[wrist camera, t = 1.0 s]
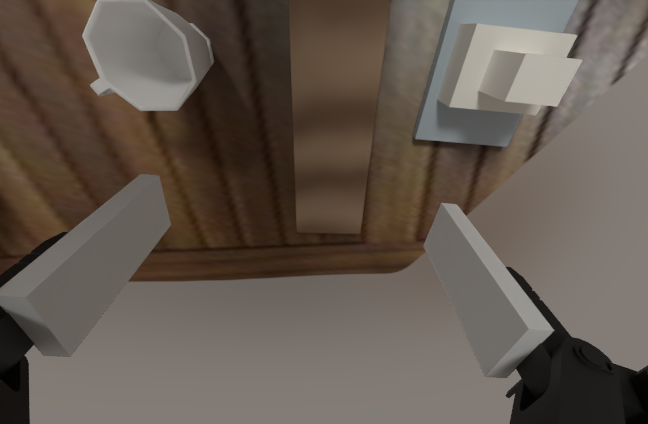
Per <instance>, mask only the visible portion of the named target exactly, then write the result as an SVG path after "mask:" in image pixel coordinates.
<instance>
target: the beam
mask: <svg viewBox="0 0 648 424" xmlns="http://www.w3.org/2000/svg"><path fill="white" fill-rule="evenodd" d="M288 2H289V30H290V58H291V86H292V114H293V142H294V169H295V197H296V225H297V233H340V234H360V231H361V223H362V216H363V208H364V201H365V193H366V185H367V178H368V170H369V163H370V155H371V147H372V140H373V132H374V125H375V117H376V110H377V102H378V94H379V87H380V79H381V72H382V64H383V56H384V49H385V41H386V34H387V26H388V18H389V11H390V3H391V0H288Z"/></svg>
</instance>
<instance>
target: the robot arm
mask: <svg viewBox="0 0 648 424" xmlns="http://www.w3.org/2000/svg"><path fill="white" fill-rule="evenodd" d="M170 226H171V222H170V218H169V214H168V210H167V206H166V202H165V198H164V194H163V189H162V185H161V181H160V177H159V175H148V174H140V175H139V176H138V177H137V178H135V179H134V180H133V181H132V182H130V183H129V184H128V185H127V186H126V187H124V188H123V189H122V190H121V191H119V192H118V193H117V194H116V195H114V196H113V197H112V198H111V199H109V200H108V201H107V202H106V203H105V204H103V205H102V206H101V207H100V208H98V209H97V210H96V211H95V212H93V213H92V214H91V215H90V216H88V217H87V218H86V219H85V220H84V221H82V222H81V223H80V224H79V225H77V226H76V227H75V228H74V229H72V230H71V231H70V232H63V233H60V234H58V235H56V236H54V237H52V238H50V239H48V240H46V241H44V242H43V243H42V244H40V245H39V246H38V247H37V248H35V249H34V250H33V251H31V254H27V255H26V256H25V257H24V258H22V259H21V260H20V261H19V263H18V264H15V265H13V266H12V267H11V268H9V269H8V270H7V271H5V272H4V273H3V274H2V275H0V424H30V419H29V364H28V360H27V358H26V357H25V356H24V355H25V354H26V352H28V350H29V349H30V348H31V347H32V346H33V345H35V347H36V348H37V349H38V350H39V351H40V352H41V353H42V355H44V356H63V357H71V356H72V354H73V353H74V352H75V350H76V349H77V348H78V346H79V345H80V344H81V343H82V341H83V340H84V339H85V337H86V336H87V335H88V333H89V332H90V331H91V329H92V328H93V327H94V325H95V324H96V323H97V321H98V320H99V319H100V318H101V316H102V315H103V314H104V312H105V311H106V310H107V308H108V307H109V306H110V304H111V303H112V302H113V300H114V299H115V298H116V297H117V295H118V294H119V293H120V291H121V290H122V288H123V287H124V286H125V285H126V283H127V282H128V281H129V279H130V278H131V277H132V276H133V274H134V273H135V272H136V270H137V269H138V268H139V266H140V265H141V264H142V262H143V261H144V260H145V258H146V257H147V256H148V255H149V253H150V252H151V251H152V249H153V248H154V247H155V245H156V244H157V243H158V241H159V240H160V239H161V237H162V236H163V235H164V233H165V232H166V231H167V230H168V228H169V227H170ZM423 247H424V249H425V251H426V253H427V255H428V257H429V259H430V261H431V264H432V266H433V268H434V270H435V272H436V274H437V276H438V278H439V280H440V283H441V285H442V287H443V289H444V291H445V293H446V295H447V297H448V300H449V302H450V304H451V306H452V308H453V310H454V312H455V314H456V316H457V319H458V321H459V323H460V325H461V327H462V329H463V331H464V333H465V335H466V338H467V340H468V341H469V344H470V346H471V348H472V350H473V352H474V355H475V357H476V359H477V361H478V363H479V365H480V367H481V369H482V371H483V373H484V376H485V377H497V378H507V377H508V376H509V375H510V374H511V373H512V372H513V371H514V370H515V369H517V371H518V373H519V374H520V376H521V378H522V379H521V380H520V381H519V382H518V383H516V384H515V385H514V386H513V387H512V388H511V389H510V390H509V391H508V392H507V394H506V397H508V398H510V397H511V396H512V395H513V394H515V398H514V404H513V409H512V414H511V419H510V424H648V366H646V367H645V368H643V369H642V370H640V371H639V372H637V371H634V370H631V369H628V368H625V367H622V366H619V365H616V364H613V363H612V362H611V360H610V359H609V358H608V357H607V356H606V355H605V354H603V353H602V352H601V351H600V350H599V349H597V348H596V347H594V346H593V345H591V344H590V343H588V342H586V341H583V340H581V339H578V338H572V337H571V336H570V334H569V333H568V332H567V331H566V330H565V328H564V327H563V326H562V325H561V323H560V322H559V321H558V320H557V318H556V317H555V316H554V315H553V314H552V312H551V311H550V310H549V309H548V307H547V306H546V305H545V304H544V302H543V301H542V300H540V298H539V296H538V295H537V294H536V293H535V291H532V288H531V286H530V285H529V284H528V283H527V282H526V280H525V279H524V278H523V277H522V276H521V275H519V274H518V273H517V272H516V271H514V270H513V269H512V268H511V267H505V266H504V265H503V264H502V263H501V261H500V260H499V258H498V257H497V256H496V255H495V253H494V252H493V251H492V249H491V248H490V247H489V246H488V244H487V243H486V242H485V240H484V239H483V238H482V237H481V235H480V234H479V233H478V231H477V230H476V229H475V228H474V226H473V225H472V224H471V222H470V221H469V220H468V218H467V217H466V216H465V215H464V213H463V212H462V211H461V209H460V208H459V207H458V206H457V204H447V203H441V205H440V208H439V210H438V212H437V215H436V217H435V219H434V222H433V224H432V226H431V229H430V231H429V234H428V236H427V238H426V241H425V243H424V245H423Z"/></svg>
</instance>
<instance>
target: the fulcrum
mask: <svg viewBox="0 0 648 424" xmlns="http://www.w3.org/2000/svg"><path fill="white" fill-rule="evenodd" d="M577 2H578V0H450V3H449V7H448V10H447V14H446V18H445V21H444V25H443V28H442V32H441V35H440V39H439V43H438V46H437V50H436V53H435V57H434V61H433V64H432V68H431V71H430V75H429V78H428V82H427V86H426V89H425V93H424V96H423V100H422V104H421V107H420V111H419V114H418V118H417V121H416V125H415V129H414V132H413V137H414V138H415V139H421V140H433V141H444V142H456V143H467V144H479V145H490V146H501V147H507V145H508V143H509V141H510V139H511V137H512V135H513V133H514V131H515V129H516V127H517V125H518V123H519V121H520V119H521V117H522V115H523V114H528V115H537V113H538V111H539V109H540V107H541V105H546V106H556V107H557V106H558V104H559V102H560V100H561V98H562V97H563V95H564V93H565V91H566V89H567V88H568V86H569V84H570V82H571V80H572V78H573V77H574V75H575V73H576V71H577V69H578V68H579V66H580V64H581V62H582V60H579V59H571V58H566V57H567V55H568V53H569V51H570V49H571V47H572V45H573V43H574V41H575V39H576V37H577V35H572V34H564V33H563V31H564V29H565V27H566V25H567V23H568V21H569V19H570V17H571V14H572V12H573V10H574V8H575V6H576V4H577Z"/></svg>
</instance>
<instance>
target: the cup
mask: <svg viewBox="0 0 648 424" xmlns="http://www.w3.org/2000/svg"><path fill="white" fill-rule="evenodd" d="M82 37H83V39H84V41H85V44H86V46H87V48H88V51H89V53H90V56H91V58H92V60H93V63H94V65H95V67H96V70H97V72H98V75H99V77H100V78H99V79H98V80H96V81H94V82H93V83H92V84H90V86H91V88H92V89H93V90H94V91H95V92H96V94H97V95H98V96H103V95H107V94H111V93H114V92H116V93H117V94H118V95H120V96H121V97H122V98H124V99H125V100H126V101H128V102H129V103H130V104H132V105H133V106H134V107H136V108H137V109H138V110H140V111H177V110H178V109H179V108H180V107H181V106H182V105H183V103H184V102H185V101H186V100H187V98H188V97H189V96H190V95H191V94H192V93H193V92H194V91H195V89H196V88H197V87H198V85H199V84H200V82H201V81H202V79H203V78H204V76H205V75H206V73H207V72H208V70H209V69H210V67H211V66H212V64H213V63H214V56H213V51H212V46H211V41H210V39H209V38H208V37H207V36H206V35H205V34H204V33H203V32H201V31H200V30H199V29H198V28H197V27H196V26H195V25H194V24H193V23H188V22H187V21H186V20H184V19H183V18H182V17H181V16H179V15H178V14H177V13H175V12H173V11H170V10H168V9H166V8H164V7H162V6H160V5H158V4H156V3H155V2H153V1H151V0H97V2H96V4H95V6H94V9H93V11H92V13H91V16H90V18H89V20H88V23H87V25H86V28H85V30H84V32H83V35H82Z"/></svg>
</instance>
